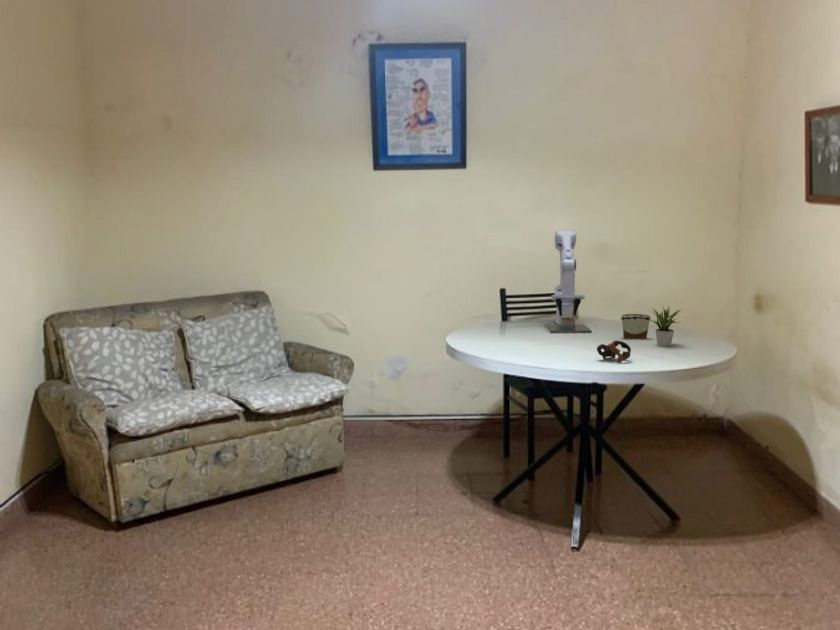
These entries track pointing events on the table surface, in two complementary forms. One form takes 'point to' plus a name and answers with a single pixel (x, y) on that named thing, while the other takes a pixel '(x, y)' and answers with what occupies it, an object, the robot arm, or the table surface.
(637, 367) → the table surface
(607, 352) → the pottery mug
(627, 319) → the food container
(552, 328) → the stand base
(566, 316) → the lift column
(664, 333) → the house plant
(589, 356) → the table surface
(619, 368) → the table surface
